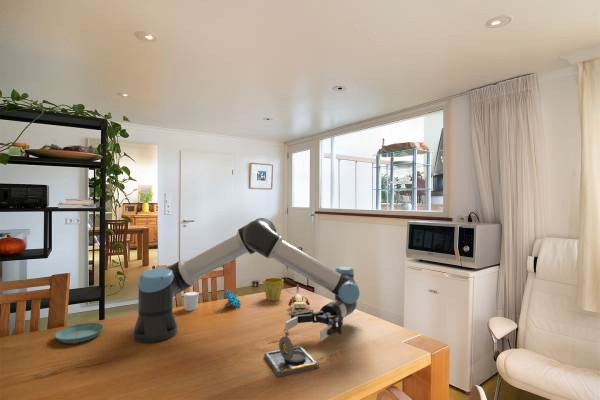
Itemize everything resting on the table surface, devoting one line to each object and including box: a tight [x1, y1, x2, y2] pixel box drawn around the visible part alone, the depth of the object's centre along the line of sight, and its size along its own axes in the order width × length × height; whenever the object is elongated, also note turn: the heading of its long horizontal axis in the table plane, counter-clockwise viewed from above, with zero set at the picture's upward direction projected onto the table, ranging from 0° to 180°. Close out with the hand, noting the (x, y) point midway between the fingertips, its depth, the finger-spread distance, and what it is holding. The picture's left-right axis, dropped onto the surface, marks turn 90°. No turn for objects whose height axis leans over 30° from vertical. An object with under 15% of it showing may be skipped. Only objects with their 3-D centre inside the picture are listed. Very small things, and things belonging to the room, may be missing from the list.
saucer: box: [54, 322, 105, 344], centre depth 118 cm, size 15×15×3 cm
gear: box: [224, 289, 242, 308], centre depth 154 cm, size 11×6×10 cm
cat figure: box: [287, 284, 311, 314], centre depth 154 cm, size 10×9×25 cm
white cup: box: [183, 291, 200, 312], centre depth 150 cm, size 7×7×7 cm
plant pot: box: [262, 277, 284, 302], centre depth 166 cm, size 10×10×10 cm
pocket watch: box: [278, 328, 306, 362], centre depth 101 cm, size 8×8×10 cm
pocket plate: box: [263, 345, 319, 378], centre depth 102 cm, size 13×13×1 cm
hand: (302, 331), depth 107 cm, fingers open, 13 cm apart
